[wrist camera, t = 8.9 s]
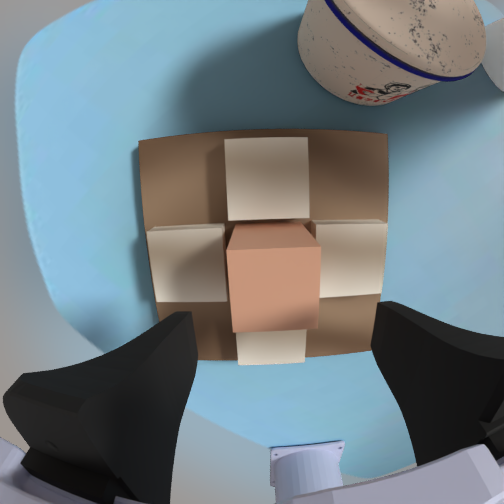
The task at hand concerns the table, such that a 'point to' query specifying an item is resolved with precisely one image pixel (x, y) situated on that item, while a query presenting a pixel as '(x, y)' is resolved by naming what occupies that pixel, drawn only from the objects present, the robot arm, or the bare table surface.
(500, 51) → the cylindrical container
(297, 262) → the terracotta block
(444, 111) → the table surface
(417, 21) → the teacup with lid
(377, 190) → the walnut board
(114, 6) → the table surface
